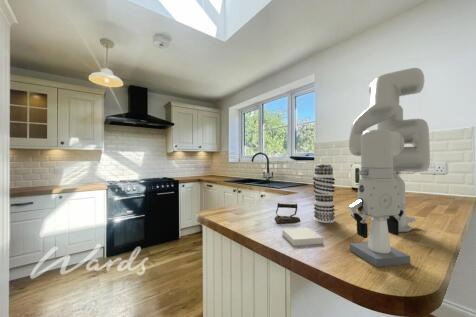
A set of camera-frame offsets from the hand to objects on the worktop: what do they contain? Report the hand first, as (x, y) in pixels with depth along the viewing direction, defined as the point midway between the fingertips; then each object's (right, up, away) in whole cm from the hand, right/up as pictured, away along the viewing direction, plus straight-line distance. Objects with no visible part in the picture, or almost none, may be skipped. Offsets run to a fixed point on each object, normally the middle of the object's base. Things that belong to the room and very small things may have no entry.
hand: (377, 234), depth 59 cm
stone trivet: (-17, -6, +13) cm, 23 cm away
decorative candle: (-1, -6, +35) cm, 36 cm away
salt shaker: (0, -4, 0) cm, 4 cm away
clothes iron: (-17, -7, +34) cm, 39 cm away
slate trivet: (0, -6, 0) cm, 6 cm away
